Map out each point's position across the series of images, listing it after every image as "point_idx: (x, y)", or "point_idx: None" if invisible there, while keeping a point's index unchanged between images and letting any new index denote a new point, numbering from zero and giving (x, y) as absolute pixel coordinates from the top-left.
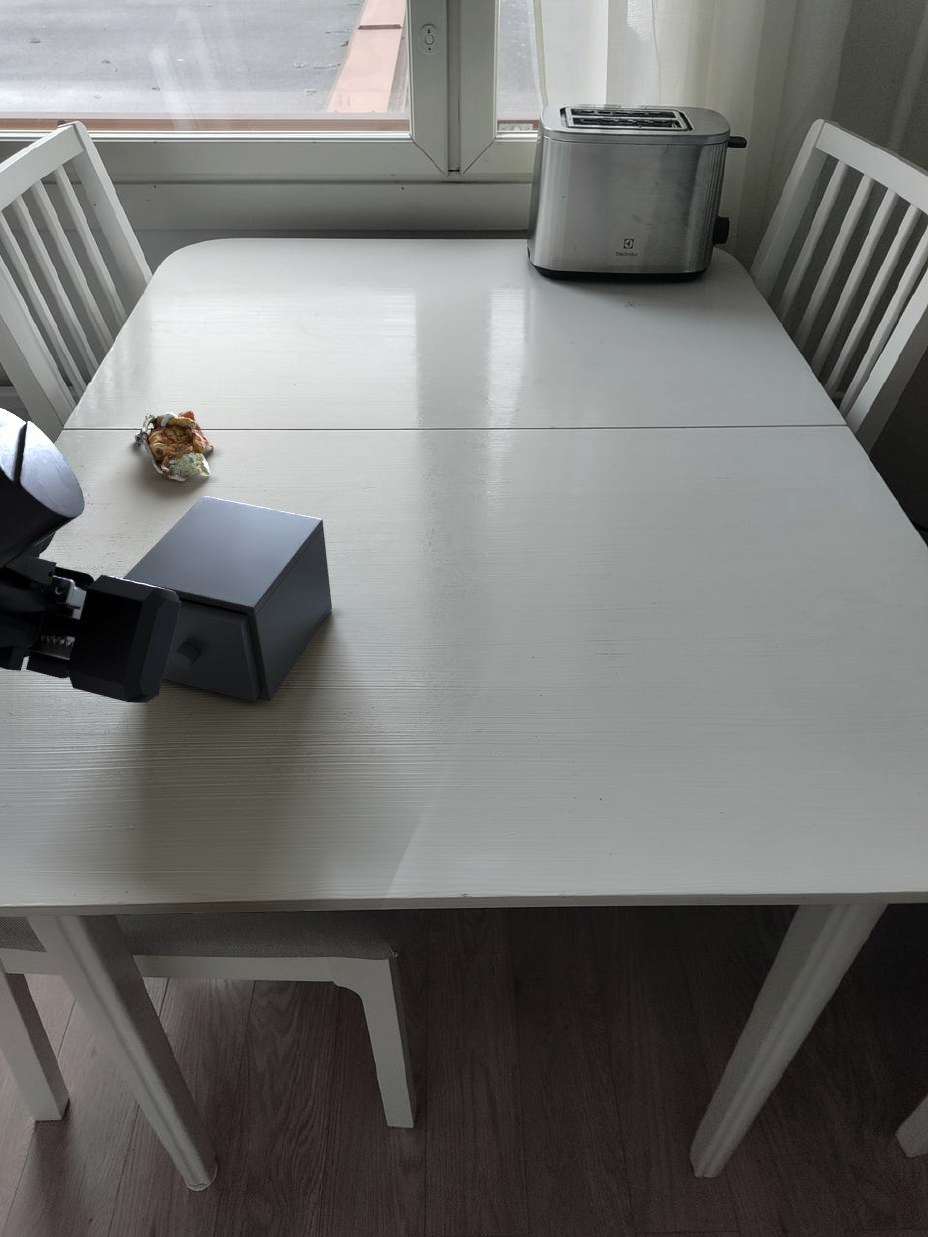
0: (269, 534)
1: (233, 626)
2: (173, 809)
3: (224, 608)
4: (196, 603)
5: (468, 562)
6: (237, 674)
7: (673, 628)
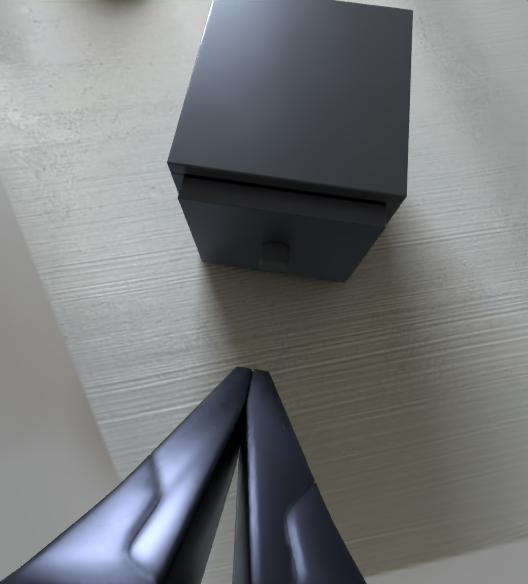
0: (352, 46)
1: (371, 228)
2: (311, 448)
3: None
4: None
5: (474, 56)
6: (338, 266)
7: None
